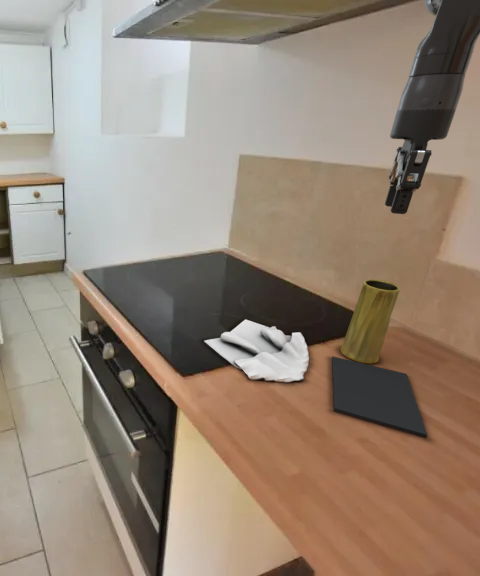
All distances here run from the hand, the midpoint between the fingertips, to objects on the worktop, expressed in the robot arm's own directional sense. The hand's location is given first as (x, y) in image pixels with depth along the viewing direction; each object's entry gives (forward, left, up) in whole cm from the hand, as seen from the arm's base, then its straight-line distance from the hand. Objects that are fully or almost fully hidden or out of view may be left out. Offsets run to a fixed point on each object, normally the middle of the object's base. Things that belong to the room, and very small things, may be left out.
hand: (394, 209), depth 68 cm
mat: (-1, +21, -26) cm, 33 cm away
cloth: (+16, +15, -26) cm, 34 cm away
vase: (0, +9, -26) cm, 27 cm away
